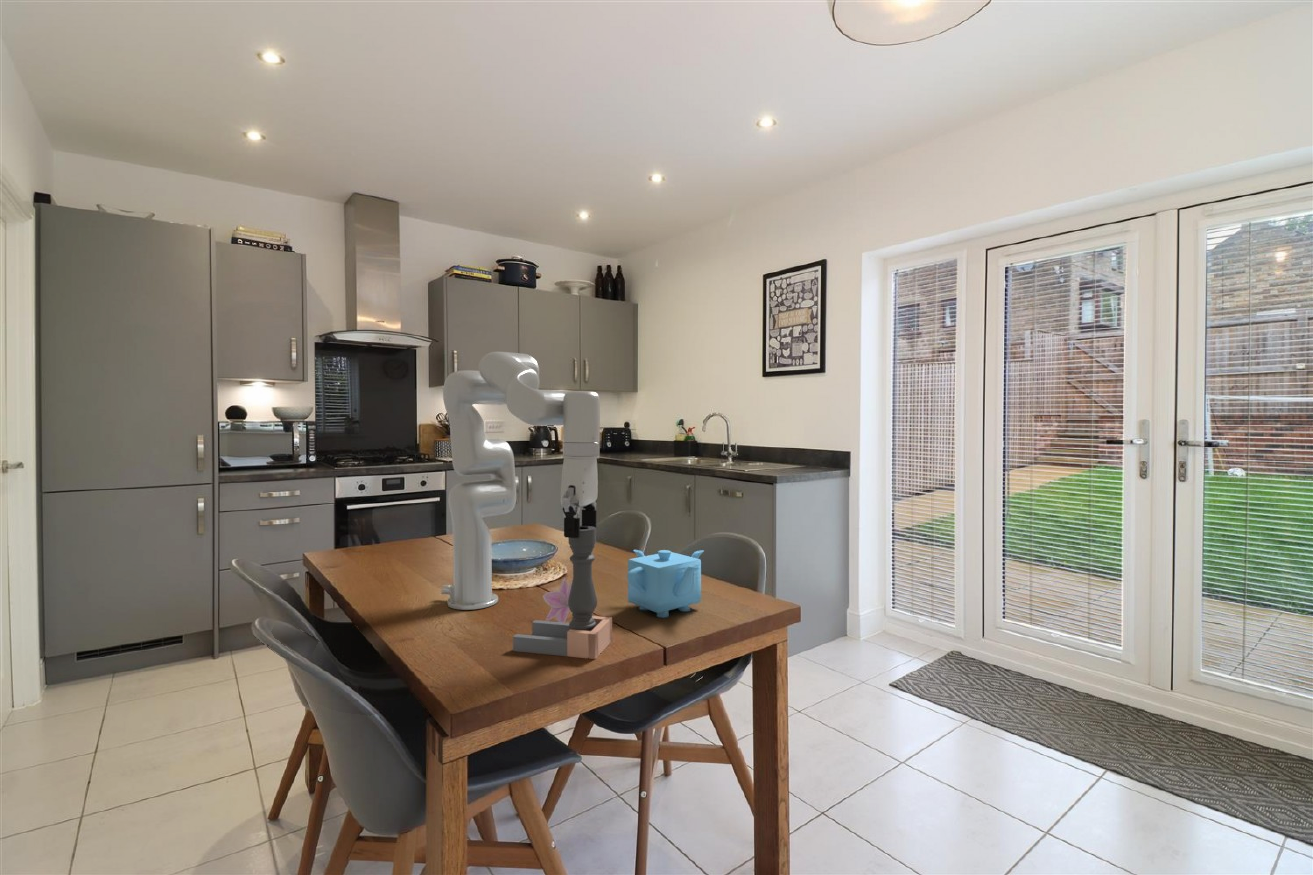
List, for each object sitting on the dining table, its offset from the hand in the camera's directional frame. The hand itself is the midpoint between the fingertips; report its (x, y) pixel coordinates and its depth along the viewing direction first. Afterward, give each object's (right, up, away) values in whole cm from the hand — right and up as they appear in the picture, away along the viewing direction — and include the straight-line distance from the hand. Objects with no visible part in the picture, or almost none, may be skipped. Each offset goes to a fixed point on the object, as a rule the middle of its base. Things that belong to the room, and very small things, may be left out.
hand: (580, 532), depth 127 cm
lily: (-6, -24, +18) cm, 30 cm away
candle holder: (0, -24, +1) cm, 24 cm away
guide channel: (-4, -24, +2) cm, 24 cm away
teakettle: (+19, -23, +27) cm, 40 cm away
